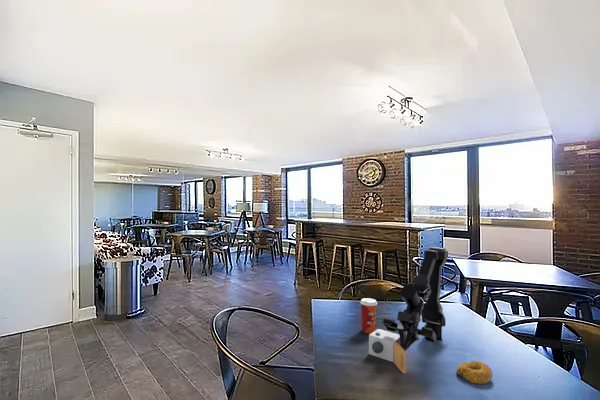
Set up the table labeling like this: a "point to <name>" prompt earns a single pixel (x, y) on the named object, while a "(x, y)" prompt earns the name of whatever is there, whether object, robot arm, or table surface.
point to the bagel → (475, 372)
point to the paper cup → (368, 314)
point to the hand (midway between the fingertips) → (402, 352)
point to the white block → (383, 344)
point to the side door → (400, 357)
